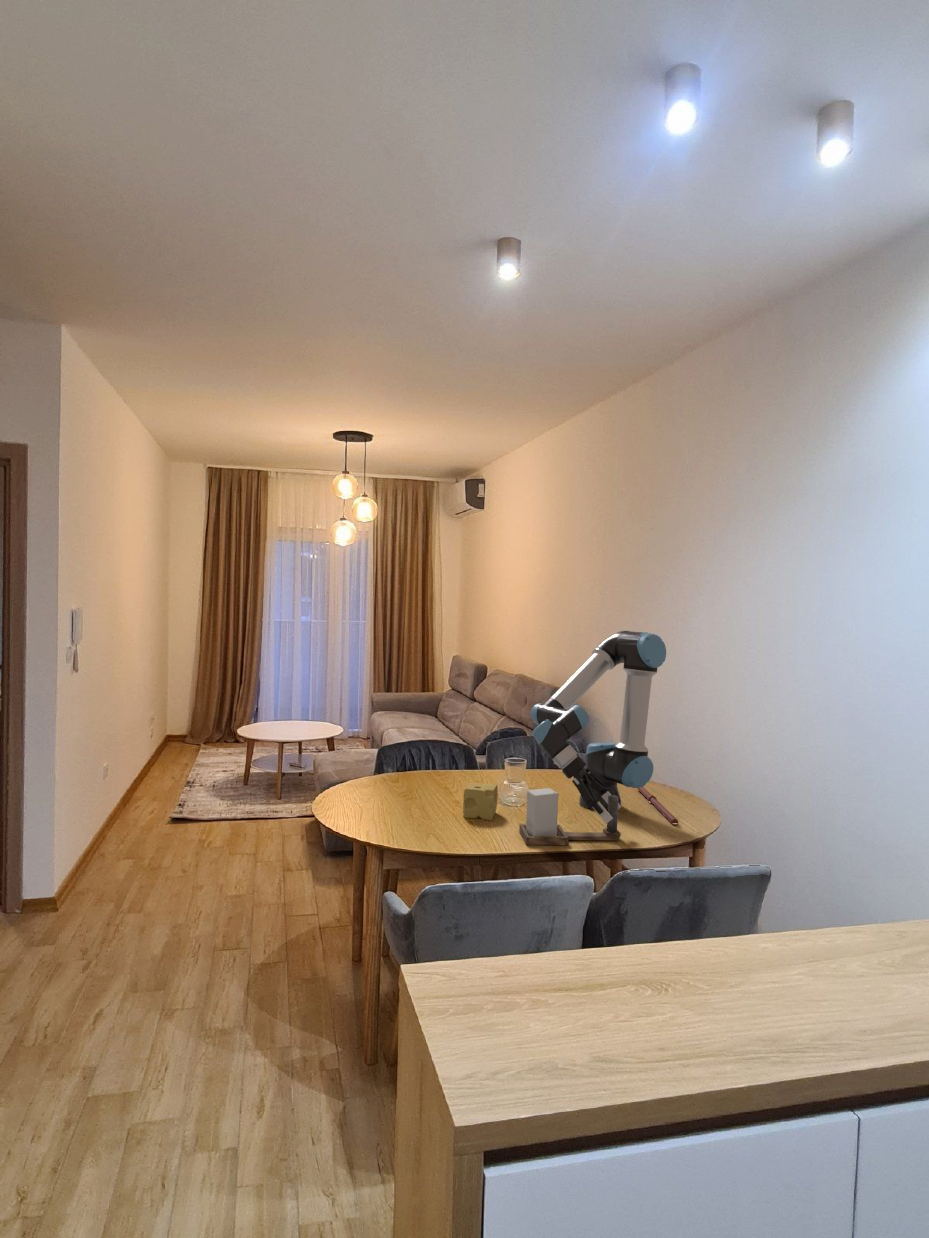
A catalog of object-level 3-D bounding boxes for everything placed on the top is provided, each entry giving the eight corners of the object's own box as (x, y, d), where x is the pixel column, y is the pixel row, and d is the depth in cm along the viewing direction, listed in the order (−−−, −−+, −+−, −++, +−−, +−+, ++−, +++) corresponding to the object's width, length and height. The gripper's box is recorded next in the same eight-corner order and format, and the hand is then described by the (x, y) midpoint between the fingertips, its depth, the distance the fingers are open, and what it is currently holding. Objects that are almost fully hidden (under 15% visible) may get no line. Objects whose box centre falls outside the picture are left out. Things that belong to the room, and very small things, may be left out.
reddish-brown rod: (635, 791, 307) (635, 783, 307) (643, 791, 307) (643, 783, 307) (670, 826, 262) (670, 817, 262) (679, 826, 262) (680, 817, 262)
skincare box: (548, 835, 246) (550, 787, 245) (557, 842, 240) (560, 793, 239) (524, 838, 243) (526, 789, 242) (533, 844, 237) (535, 794, 236)
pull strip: (612, 831, 252) (614, 791, 251) (624, 845, 239) (626, 802, 238) (519, 830, 249) (521, 789, 248) (526, 844, 236) (528, 801, 236)
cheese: (492, 820, 260) (493, 791, 260) (461, 817, 262) (462, 788, 262) (497, 812, 270) (498, 783, 270) (467, 809, 273) (468, 781, 272)
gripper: (571, 761, 262) (613, 811, 257) (550, 777, 239) (596, 833, 234) (587, 748, 260) (629, 798, 255) (568, 763, 237) (614, 818, 232)
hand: (614, 815), depth 245 cm, fingers open, 13 cm apart
